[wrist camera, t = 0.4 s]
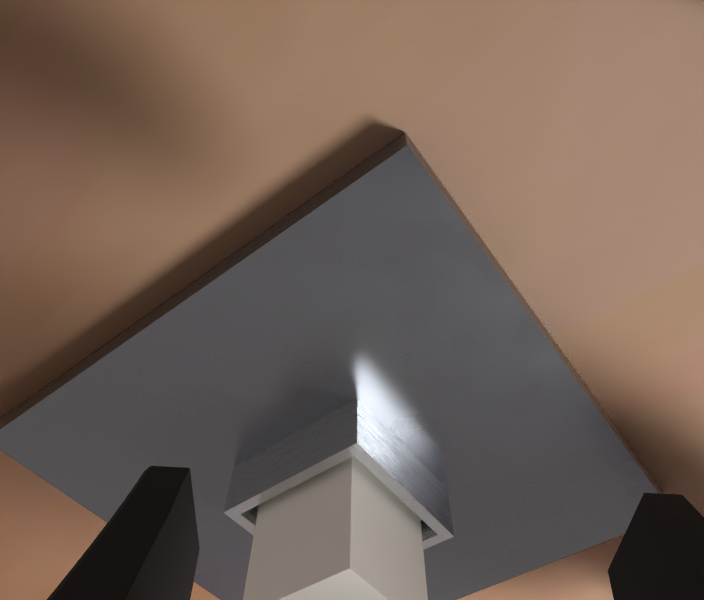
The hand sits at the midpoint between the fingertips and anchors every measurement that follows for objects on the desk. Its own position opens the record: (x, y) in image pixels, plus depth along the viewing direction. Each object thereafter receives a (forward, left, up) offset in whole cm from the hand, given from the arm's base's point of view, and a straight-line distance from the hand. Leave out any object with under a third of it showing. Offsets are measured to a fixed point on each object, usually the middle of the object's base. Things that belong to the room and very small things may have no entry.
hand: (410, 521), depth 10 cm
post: (-7, +7, -9) cm, 13 cm away
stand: (-7, +7, -10) cm, 14 cm away
